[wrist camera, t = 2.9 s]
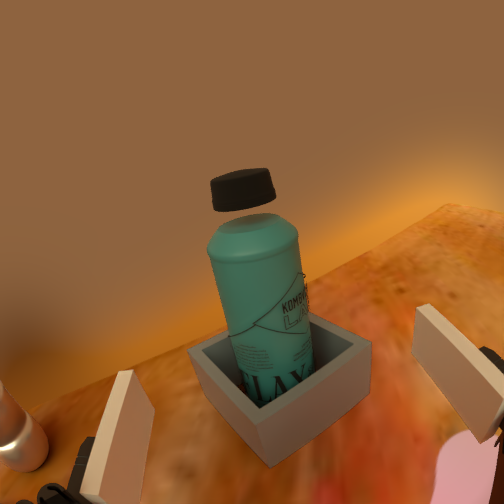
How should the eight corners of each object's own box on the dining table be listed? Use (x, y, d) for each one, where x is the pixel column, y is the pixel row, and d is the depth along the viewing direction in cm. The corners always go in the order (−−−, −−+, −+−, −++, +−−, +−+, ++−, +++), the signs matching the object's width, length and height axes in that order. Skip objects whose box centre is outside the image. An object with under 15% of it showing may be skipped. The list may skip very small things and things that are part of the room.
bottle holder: (369, 392, 25) (371, 342, 22) (270, 468, 20) (255, 425, 17) (292, 346, 34) (285, 299, 32) (205, 395, 29) (186, 349, 26)
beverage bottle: (238, 420, 25) (166, 190, 18) (261, 371, 31) (214, 170, 24) (311, 429, 22) (272, 172, 16) (325, 375, 28) (297, 157, 21)
